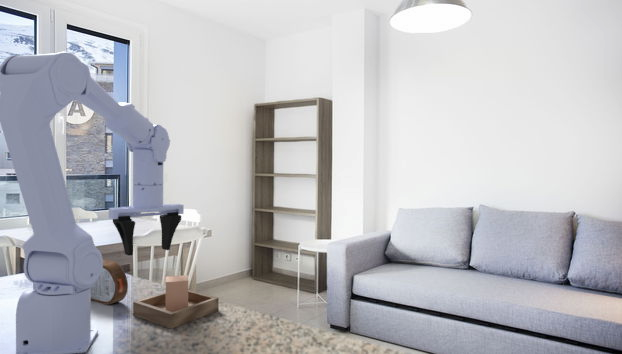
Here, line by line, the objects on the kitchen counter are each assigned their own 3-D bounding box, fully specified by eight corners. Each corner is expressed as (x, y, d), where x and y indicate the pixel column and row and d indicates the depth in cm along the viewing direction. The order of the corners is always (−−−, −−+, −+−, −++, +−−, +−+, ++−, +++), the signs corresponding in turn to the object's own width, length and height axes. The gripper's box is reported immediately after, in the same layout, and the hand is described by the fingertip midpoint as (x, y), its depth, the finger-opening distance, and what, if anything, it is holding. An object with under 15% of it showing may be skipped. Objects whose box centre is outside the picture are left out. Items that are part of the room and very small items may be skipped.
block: (165, 314, 77) (165, 282, 77) (165, 307, 81) (165, 276, 81) (188, 312, 79) (188, 280, 78) (187, 305, 82) (187, 275, 82)
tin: (129, 304, 84) (129, 262, 84) (115, 309, 82) (115, 266, 81) (83, 292, 92) (83, 253, 91) (69, 296, 89) (69, 256, 89)
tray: (171, 328, 72) (171, 314, 72) (133, 315, 79) (133, 301, 78) (218, 310, 82) (218, 297, 82) (180, 299, 88) (181, 287, 88)
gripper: (118, 186, 77) (118, 260, 77) (191, 184, 87) (190, 250, 87) (104, 184, 81) (104, 254, 82) (174, 183, 92) (174, 245, 92)
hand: (147, 251), depth 85 cm, fingers open, 7 cm apart
